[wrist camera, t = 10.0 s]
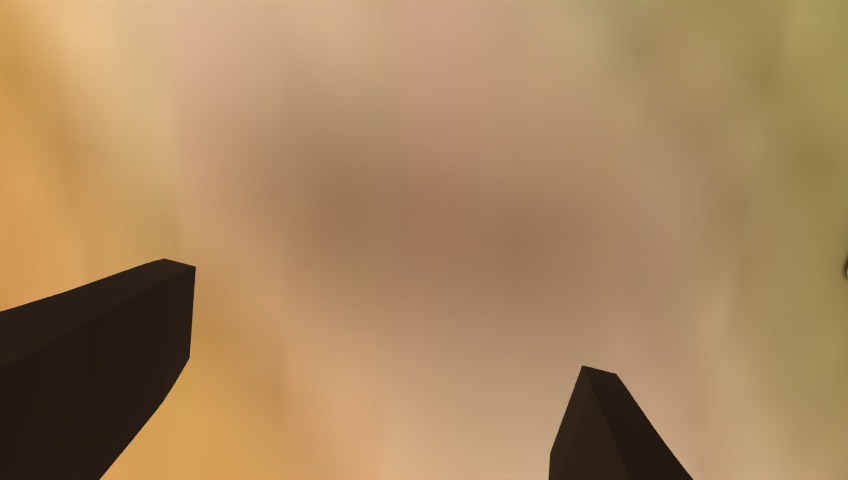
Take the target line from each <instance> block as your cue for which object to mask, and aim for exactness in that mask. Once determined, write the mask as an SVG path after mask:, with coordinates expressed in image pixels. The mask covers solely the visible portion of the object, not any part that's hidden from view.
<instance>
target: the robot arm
mask: <svg viewBox="0 0 848 480" xmlns="http://www.w3.org/2000/svg"><path fill="white" fill-rule="evenodd" d="M195 271H196V267H195V266H191V265H188V264H184V263H180V262H176V261H172V260H168V259H161V260H157V261H153V262H150V263H146V264H143V265H140V266H137V267H134V268H132V269H129V270H126V271H123V272H120V273H117V274H115V275H112V276H109V277H106V278H103V279H100V280H98V281H95V282H92V283H89V284H86V285H83V286H80V287H78V288H75V289H72V290H69V291H66V292H63V293H60V294H57V295H54V296H50V297H47V298H44V299H41V300H37V301H34V302H31V303H28V304H24V305H21V306H18V307H15V308H11V309H8V310H5V311H1V312H0V480H100V478H101V477H102V476H103V475H104V474H105V472H106V471H107V470H108V469H109V468H110V466H111V465H112V464H113V463H114V461H115V460H116V459H117V458H118V457H119V455H120V454H121V453H122V452H123V451H124V449H125V448H126V447H127V446H128V445H129V443H130V442H131V441H132V440H133V438H134V437H135V436H136V435H137V434H138V432H139V431H140V430H141V429H142V427H143V426H144V425H145V424H146V422H147V421H148V420H149V419H150V418H151V416H152V415H153V414H154V413H155V411H156V410H157V409H158V408H159V406H160V405H161V404H162V402H163V401H164V399H165V398H166V396H167V395H168V393H169V392H170V390H171V388H172V387H173V385H174V384H175V382H176V380H177V379H178V377H179V375H180V373H181V372H182V370H183V368H184V367H185V365H186V363H187V362H188V360H189V358H190V343H191V329H192V314H193V300H194V285H195ZM847 277H848V269H847ZM549 480H693V479H692V477H691V476H690V475H689V474H688V473H687V471H686V470H685V469H684V467H683V466H682V465H681V464H680V462H679V461H678V460H677V458H676V457H675V456H674V455H673V453H672V452H671V451H670V449H669V448H668V447H667V445H666V444H665V442H664V441H663V440H662V438H661V437H660V436H659V434H658V433H657V431H656V430H655V429H654V427H653V426H652V424H651V423H650V421H649V420H648V419H647V417H646V416H645V414H644V413H643V411H642V410H641V408H640V407H639V406H638V404H637V403H636V401H635V400H634V398H633V397H632V395H631V394H630V392H629V391H628V389H627V388H626V387H625V385H624V384H623V382H622V381H621V380H620V378H619V377H618V376H617V374H614V373H610V372H606V371H603V370H599V369H595V368H591V367H587V366H583V365H582V368H581V371H580V373H579V376H578V379H577V382H576V384H575V387H574V390H573V392H572V395H571V398H570V401H569V403H568V406H567V409H566V412H565V414H564V417H563V420H562V423H561V425H560V428H559V431H558V433H557V436H556V439H555V442H554V444H553V447H552V450H551V453H550V466H549Z"/></svg>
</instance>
